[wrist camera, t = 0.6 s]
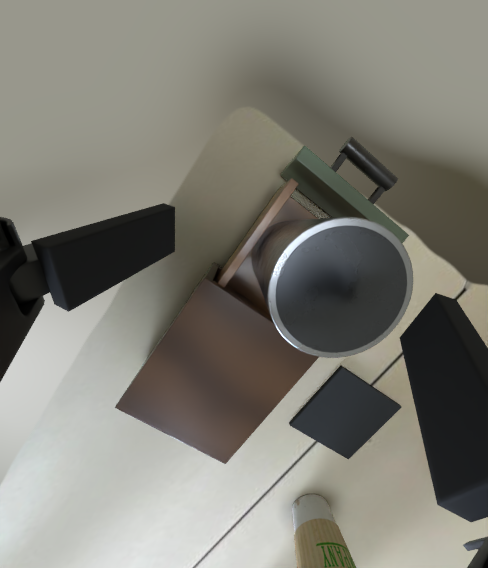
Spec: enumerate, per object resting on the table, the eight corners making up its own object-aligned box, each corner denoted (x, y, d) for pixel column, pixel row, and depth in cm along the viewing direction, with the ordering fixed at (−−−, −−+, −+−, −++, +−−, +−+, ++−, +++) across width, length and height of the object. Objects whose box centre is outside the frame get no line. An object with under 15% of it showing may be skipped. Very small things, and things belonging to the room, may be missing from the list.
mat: (289, 422, 35) (289, 425, 35) (340, 365, 33) (342, 367, 33) (347, 456, 37) (348, 459, 37) (399, 404, 35) (401, 407, 35)
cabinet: (213, 262, 29) (204, 277, 20) (298, 320, 31) (320, 354, 23) (146, 359, 32) (114, 407, 23) (228, 405, 34) (225, 464, 26)
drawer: (311, 130, 25) (338, 95, 18) (393, 202, 27) (444, 194, 20) (208, 277, 28) (200, 294, 22) (287, 330, 30) (302, 360, 24)
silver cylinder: (246, 227, 26) (257, 231, 12) (321, 214, 26) (416, 204, 12) (257, 298, 28) (278, 369, 14) (327, 287, 28) (413, 347, 14)
